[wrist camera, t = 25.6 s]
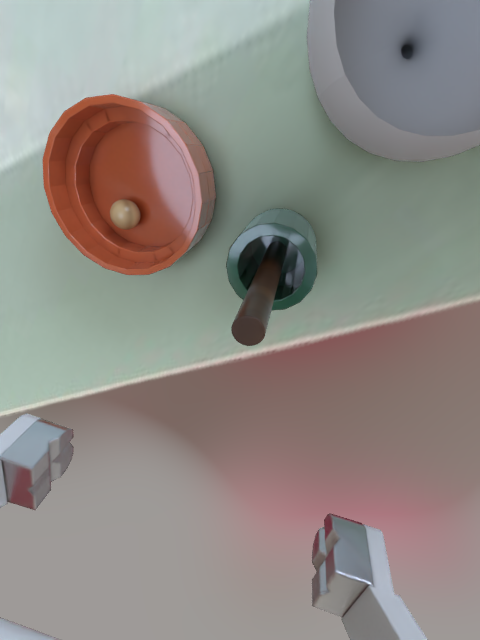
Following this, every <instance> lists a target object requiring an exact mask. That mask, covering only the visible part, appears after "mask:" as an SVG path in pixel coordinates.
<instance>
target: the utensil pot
mask: <svg viewBox="0 0 480 640" xmlns="http://www.w3.org/2000/svg"><path fill="white" fill-rule="evenodd" d="M276 241H278V242H281V243H283V244H284V245H285V247H286V256H285V259H284V263H283V267H282V271H281V275H280V279H279V283H278V286H277V290H276V294H275V298H274V302H273V306H272V309H271V310H283V309H287V308H289V307H291V306H293V305H295V304H297V303H299V302H301V301H302V300H303V298H304V297H305V296H306V295H307V294H308V293H309V292H310V291H311V289H312V287H313V284H314V281H315V279H316V276H317V248H316V236H315V233H314V231H313V229H312V227H311V225H310V223H309V222H308V221H307V220H306V219H305V218H304V217H303V216H302V215H300V214H299V213H297V212H295V211H292V210H289V209H283V208H276V209H270V210H267V211H265V212H263V213H261V214H259V215H258V216H257V217H255V218H254V219H253V220H252V221H251V222H250V223H249V224H248V226H247V227H246V228H245V229H244V230H243V231H242V233H241V234H240V235H239V236H238V238H237V239H236V240H235V242H234V243H233V245H232V246H231V247H230V250H229V254H228V259H227V263H226V267H227V273H228V279H229V282H230V284H231V286H232V287H233V289H234V290H235V292H236V294H237V295H238V296H239V297H240V298H242V299H243V300H244V298H245V296H246V294H247V291H248V289H249V287H250V285H251V283H252V281H253V278H254V276H255V274H256V272H257V270H258V268H259V265H260V263H261V261H262V259H263V257H264V255H265V252H266V250H267V248H268V246H269V245H270V244H271V243H272V242H276Z"/></svg>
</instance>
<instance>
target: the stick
mask: <svg viewBox="0 0 480 640" xmlns="http://www.w3.org/2000/svg"><path fill="white" fill-rule="evenodd" d="M285 256H286V247H285V245H284V244H283V243H281V242H278V241H276V242H272V243H271V244H270V245H269V246H268V248H267V250H266V252H265V255H264V257H263V259H262V261H261V263H260V265H259V268H258V270H257V272H256V274H255V276H254V278H253V281H252V283H251V285H250V287H249V289H248V291H247V294H246V296H245V298H244V300H243V302H242V304H241V307H240V309H239V311H238V313H237V315H236V317H235V320H234V322H233V324H232V334H233V336H234V338H235V339H236V340H237V341H238V342H239V343H241V344H243V345H247V346H252V345H256V344H258V343H260V342H261V341H262V340H263V338H264V336H265V333H266V329H267V325H268V321H269V317H270V313H271V309H272V306H273V302H274V298H275V294H276V290H277V286H278V283H279V279H280V275H281V271H282V267H283V263H284V259H285Z"/></svg>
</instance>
